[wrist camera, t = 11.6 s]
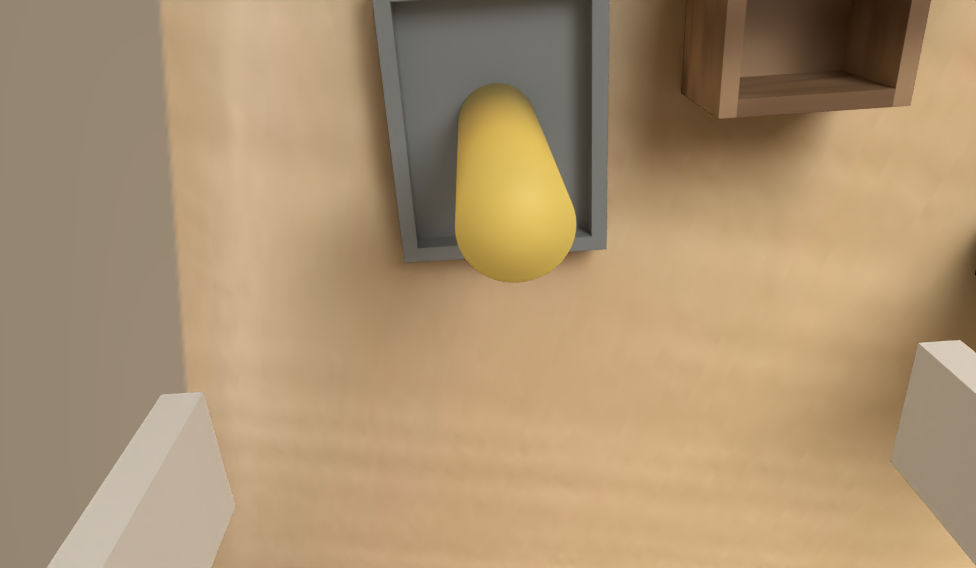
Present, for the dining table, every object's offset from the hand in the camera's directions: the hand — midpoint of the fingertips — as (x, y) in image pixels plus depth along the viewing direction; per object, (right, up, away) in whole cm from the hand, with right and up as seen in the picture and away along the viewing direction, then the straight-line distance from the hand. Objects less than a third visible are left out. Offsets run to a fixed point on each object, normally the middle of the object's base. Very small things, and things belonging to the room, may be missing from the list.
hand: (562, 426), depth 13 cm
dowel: (-1, +11, +24) cm, 26 cm away
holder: (+13, +17, +22) cm, 30 cm away
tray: (-1, +11, +24) cm, 27 cm away
